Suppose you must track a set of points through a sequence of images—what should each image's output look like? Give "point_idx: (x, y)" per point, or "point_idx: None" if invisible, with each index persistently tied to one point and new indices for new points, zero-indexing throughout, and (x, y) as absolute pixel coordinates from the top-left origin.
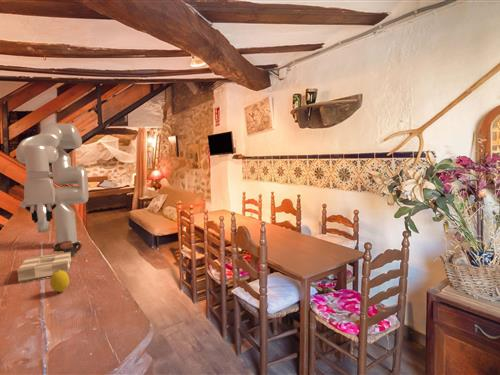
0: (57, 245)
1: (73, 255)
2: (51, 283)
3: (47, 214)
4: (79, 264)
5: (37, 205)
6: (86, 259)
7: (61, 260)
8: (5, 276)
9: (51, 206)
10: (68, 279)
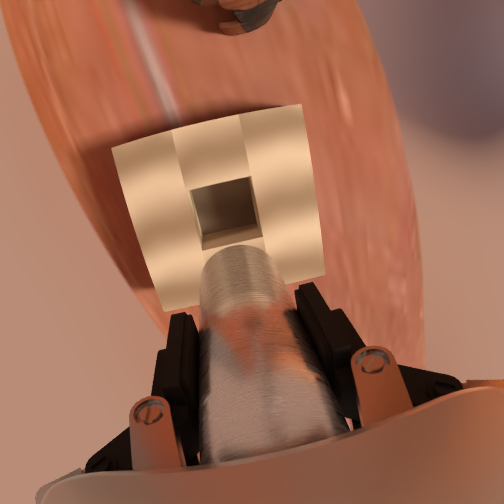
0: None
1: (270, 15)
2: None
3: None
4: (325, 144)
5: None
6: (339, 86)
7: (295, 237)
8: (82, 204)
9: (397, 397)
10: None
